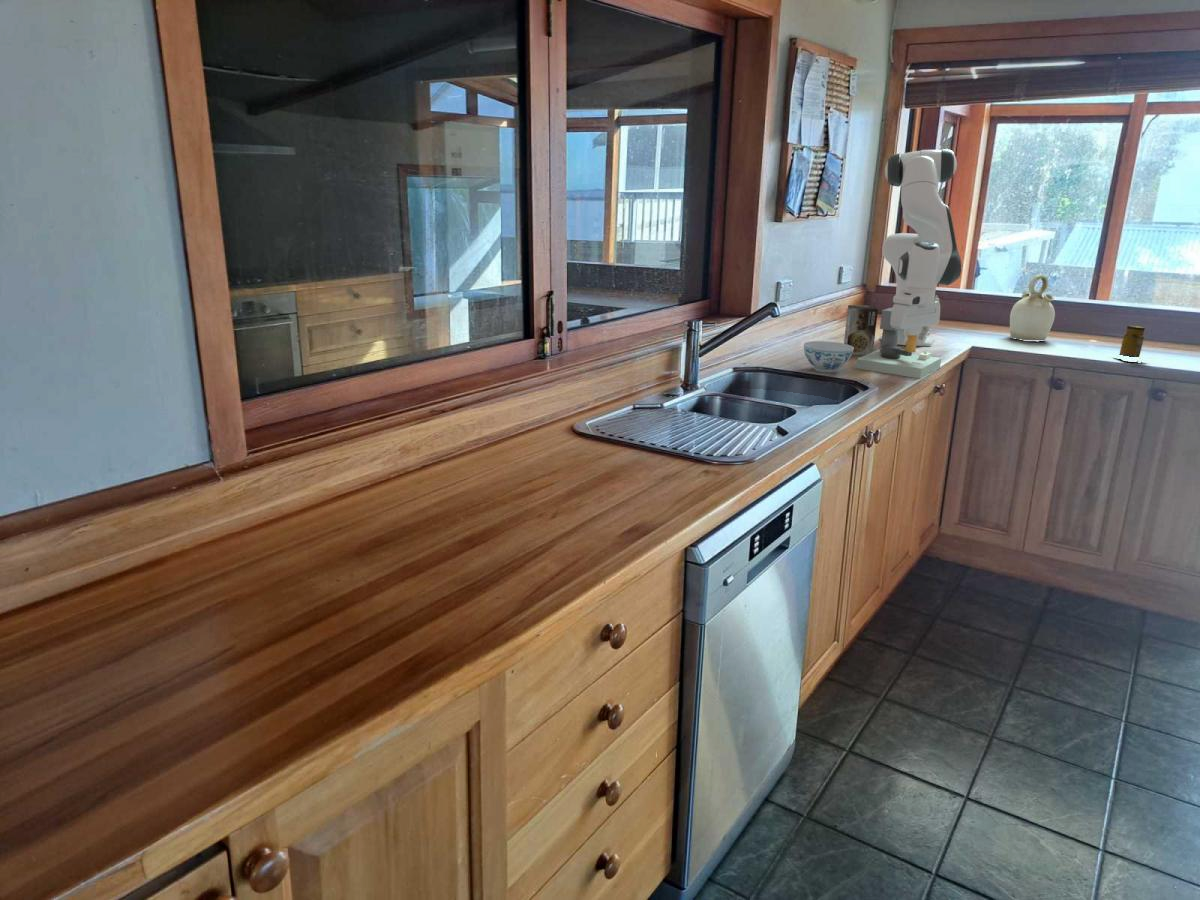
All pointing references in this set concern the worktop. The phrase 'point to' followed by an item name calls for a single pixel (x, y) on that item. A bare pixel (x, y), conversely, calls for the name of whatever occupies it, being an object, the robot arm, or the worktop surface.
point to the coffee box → (861, 328)
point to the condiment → (1132, 341)
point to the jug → (1033, 313)
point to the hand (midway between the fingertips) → (912, 341)
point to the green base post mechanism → (898, 366)
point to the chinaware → (827, 355)
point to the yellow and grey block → (896, 351)
